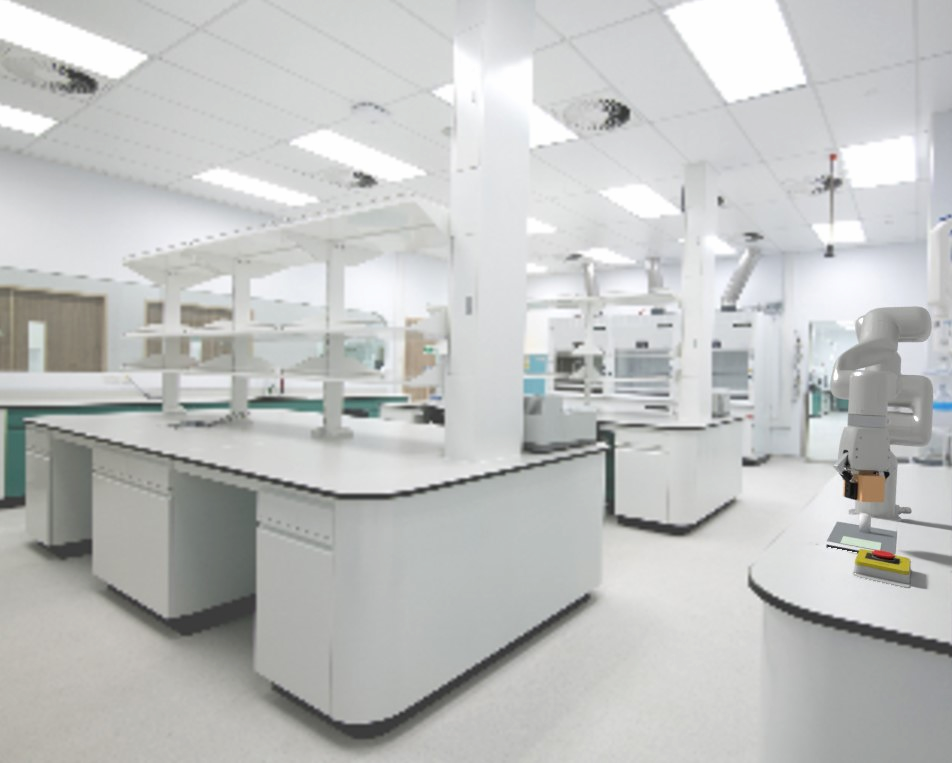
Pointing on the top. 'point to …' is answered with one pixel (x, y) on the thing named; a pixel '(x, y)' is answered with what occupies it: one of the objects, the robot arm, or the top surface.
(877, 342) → the robot arm
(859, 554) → the emergency button
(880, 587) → the top surface
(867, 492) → the tan wooden cube
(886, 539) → the base plate
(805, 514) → the top surface
